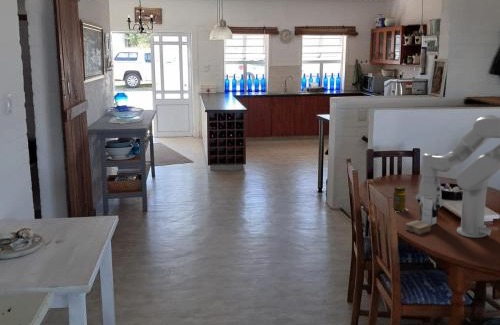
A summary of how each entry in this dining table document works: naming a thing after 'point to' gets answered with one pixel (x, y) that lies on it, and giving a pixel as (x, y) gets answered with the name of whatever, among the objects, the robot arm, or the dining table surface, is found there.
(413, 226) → the tan flat square box
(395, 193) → the condiment
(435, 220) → the syrup box
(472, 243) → the dining table surface
